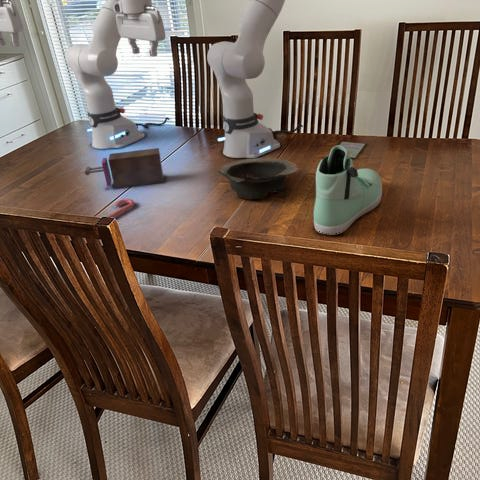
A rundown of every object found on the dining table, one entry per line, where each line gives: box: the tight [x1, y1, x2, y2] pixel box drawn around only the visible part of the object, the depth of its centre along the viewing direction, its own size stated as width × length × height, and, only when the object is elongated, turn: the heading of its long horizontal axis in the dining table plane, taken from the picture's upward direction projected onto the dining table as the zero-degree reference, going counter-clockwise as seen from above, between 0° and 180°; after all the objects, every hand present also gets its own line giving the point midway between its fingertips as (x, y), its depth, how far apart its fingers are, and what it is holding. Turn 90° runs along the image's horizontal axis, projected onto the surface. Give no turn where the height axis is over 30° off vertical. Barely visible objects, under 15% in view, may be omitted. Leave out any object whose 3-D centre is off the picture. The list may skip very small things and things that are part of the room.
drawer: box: [84, 157, 113, 187], centre depth 162 cm, size 22×4×8 cm, turn 99°
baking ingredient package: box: [338, 141, 366, 158], centre depth 177 cm, size 9×1×15 cm
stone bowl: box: [217, 157, 299, 201], centre depth 152 cm, size 25×25×9 cm
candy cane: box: [106, 198, 135, 218], centre depth 146 cm, size 6×15×2 cm, turn 145°
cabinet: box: [107, 147, 165, 190], centre depth 163 cm, size 17×6×10 cm, turn 99°
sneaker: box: [313, 145, 383, 236], centre depth 133 cm, size 14×35×20 cm, turn 152°
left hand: (9, 46), depth 160 cm, fingers open, 8 cm apart
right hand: (144, 54), depth 148 cm, fingers open, 8 cm apart
